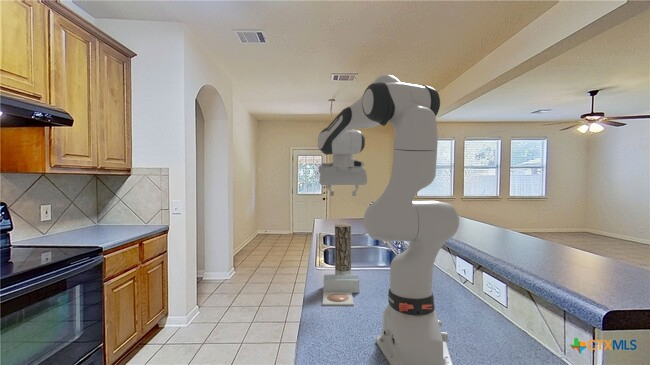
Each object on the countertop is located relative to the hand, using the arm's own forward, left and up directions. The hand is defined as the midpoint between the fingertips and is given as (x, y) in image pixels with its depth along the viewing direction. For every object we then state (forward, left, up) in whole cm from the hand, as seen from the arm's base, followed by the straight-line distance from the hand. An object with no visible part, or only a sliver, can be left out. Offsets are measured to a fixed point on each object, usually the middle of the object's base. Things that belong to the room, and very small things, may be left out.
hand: (343, 195), depth 135 cm
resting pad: (-19, +3, -37) cm, 42 cm away
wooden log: (0, 0, -37) cm, 37 cm away
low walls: (-8, +1, -37) cm, 38 cm away
